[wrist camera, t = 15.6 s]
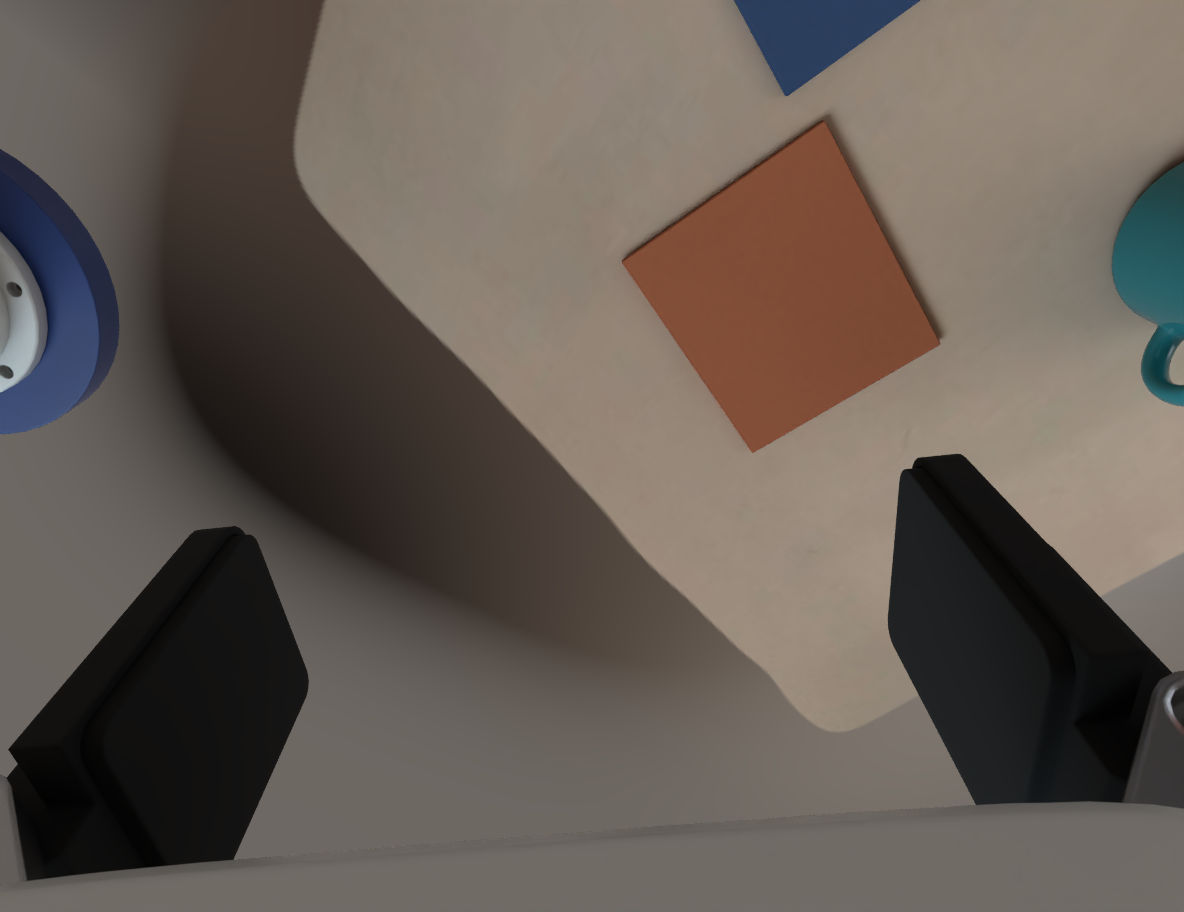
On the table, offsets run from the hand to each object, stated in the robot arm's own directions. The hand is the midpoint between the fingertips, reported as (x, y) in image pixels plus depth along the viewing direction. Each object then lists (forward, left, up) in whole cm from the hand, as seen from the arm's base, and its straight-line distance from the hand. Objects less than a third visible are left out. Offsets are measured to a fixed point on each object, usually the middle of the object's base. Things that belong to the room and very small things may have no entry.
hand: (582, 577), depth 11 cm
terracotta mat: (+10, +5, -32) cm, 34 cm away
